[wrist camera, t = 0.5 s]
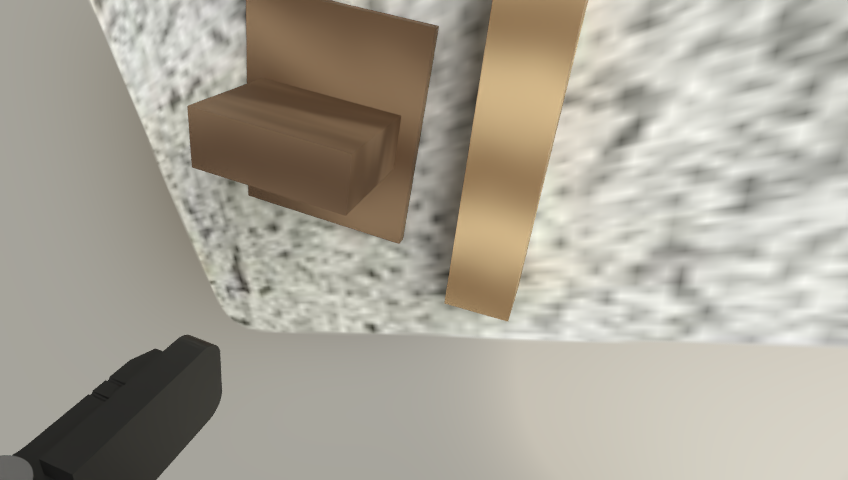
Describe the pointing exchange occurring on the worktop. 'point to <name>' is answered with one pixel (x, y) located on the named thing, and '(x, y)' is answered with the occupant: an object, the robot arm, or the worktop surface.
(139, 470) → the robot arm
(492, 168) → the oak rod
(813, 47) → the worktop surface
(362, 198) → the walnut fulcrum
